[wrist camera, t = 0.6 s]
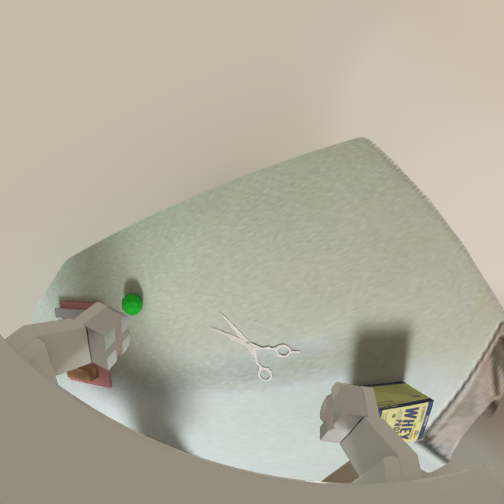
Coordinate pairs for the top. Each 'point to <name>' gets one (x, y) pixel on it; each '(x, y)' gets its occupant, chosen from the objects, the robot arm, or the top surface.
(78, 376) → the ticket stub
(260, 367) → the scissors
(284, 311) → the top surface
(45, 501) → the robot arm
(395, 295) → the top surface
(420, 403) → the protein box
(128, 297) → the polyhedron
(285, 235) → the top surface
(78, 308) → the ticket
